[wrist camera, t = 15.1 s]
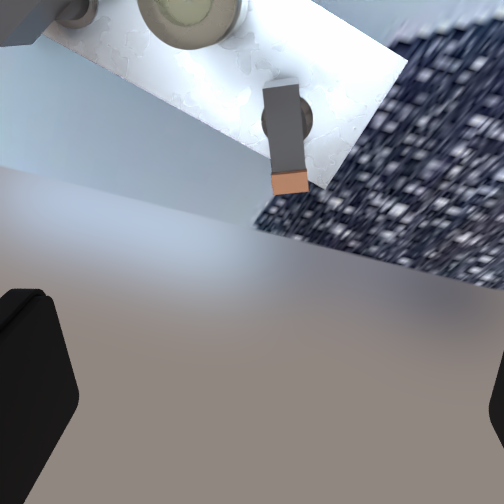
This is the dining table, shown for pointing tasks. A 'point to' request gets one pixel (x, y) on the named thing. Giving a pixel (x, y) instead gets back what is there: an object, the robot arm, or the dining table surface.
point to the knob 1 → (34, 18)
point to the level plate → (243, 65)
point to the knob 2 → (285, 135)
